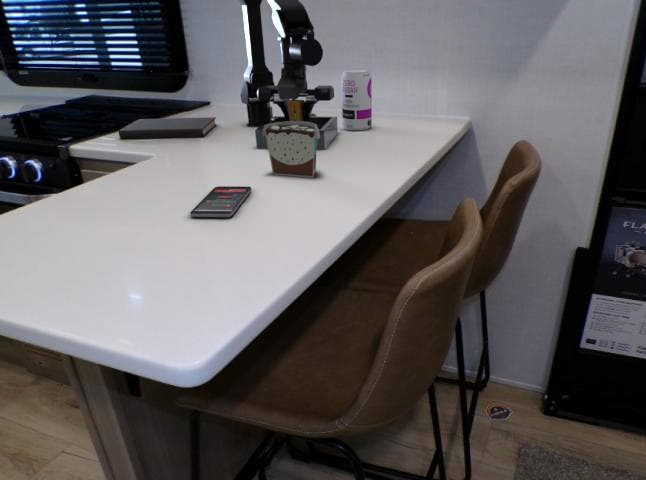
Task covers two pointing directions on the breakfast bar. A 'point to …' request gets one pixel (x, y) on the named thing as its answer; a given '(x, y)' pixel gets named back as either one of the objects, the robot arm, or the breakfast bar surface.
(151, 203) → the breakfast bar surface
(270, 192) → the breakfast bar surface
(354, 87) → the supplement can
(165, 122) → the hardcover book
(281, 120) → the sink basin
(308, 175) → the food container
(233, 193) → the smartphone
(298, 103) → the supplement box
